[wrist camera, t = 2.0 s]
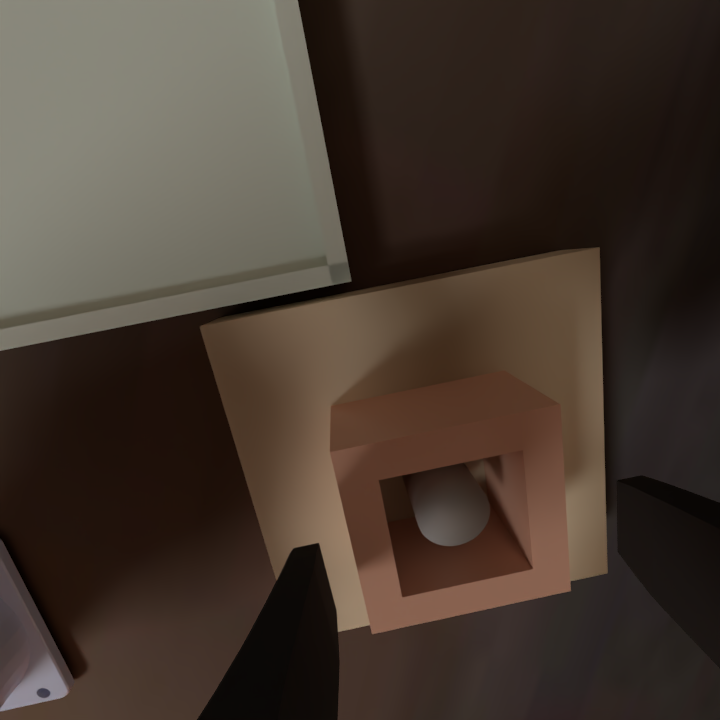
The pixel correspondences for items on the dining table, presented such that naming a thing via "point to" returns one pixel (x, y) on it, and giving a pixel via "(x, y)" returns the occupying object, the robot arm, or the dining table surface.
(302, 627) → the robot arm
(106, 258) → the tray
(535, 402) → the ring
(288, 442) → the board
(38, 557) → the dining table surface
